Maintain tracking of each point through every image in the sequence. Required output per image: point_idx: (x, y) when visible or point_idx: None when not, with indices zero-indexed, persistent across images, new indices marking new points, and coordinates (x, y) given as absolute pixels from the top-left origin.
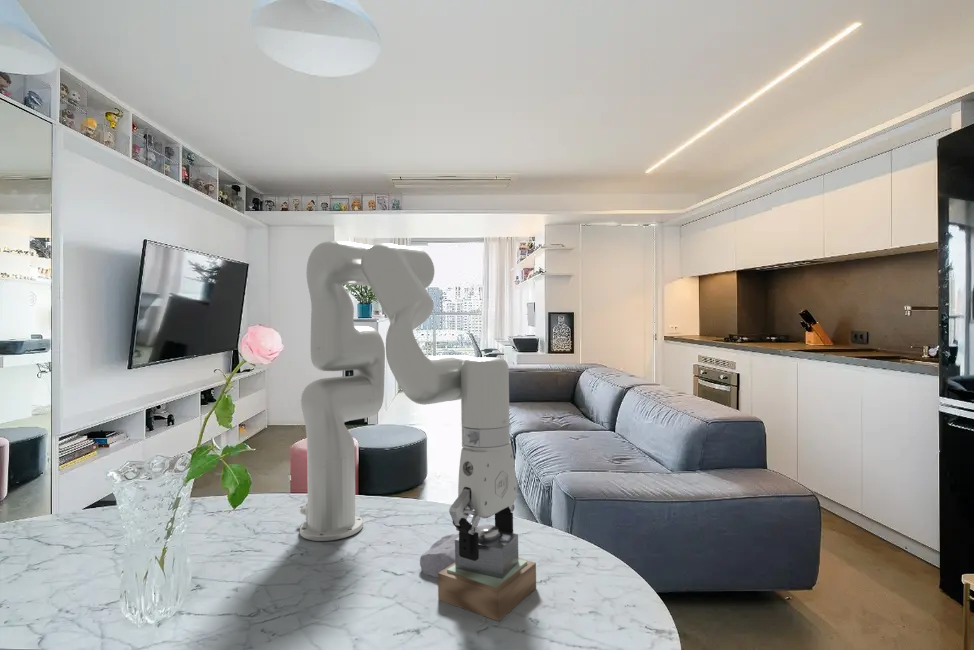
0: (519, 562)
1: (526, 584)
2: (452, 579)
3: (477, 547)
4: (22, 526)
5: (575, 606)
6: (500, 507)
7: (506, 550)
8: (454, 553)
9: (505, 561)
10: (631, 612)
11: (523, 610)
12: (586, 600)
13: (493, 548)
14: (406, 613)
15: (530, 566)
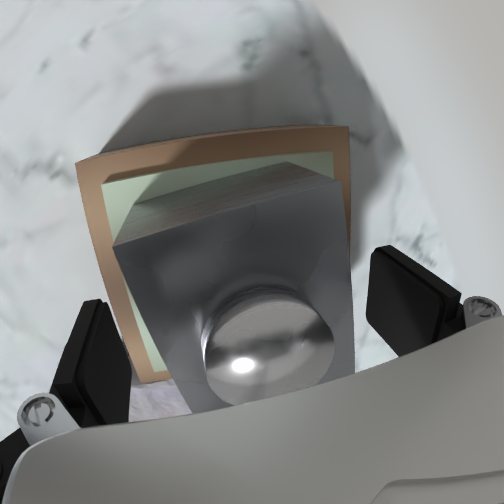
0: (132, 199)
1: (155, 143)
2: None
3: (411, 265)
4: None
5: (115, 11)
6: (369, 395)
7: (274, 188)
8: None
9: (271, 178)
10: None
11: (226, 102)
12: (71, 12)
13: (344, 227)
14: None
15: (112, 157)
